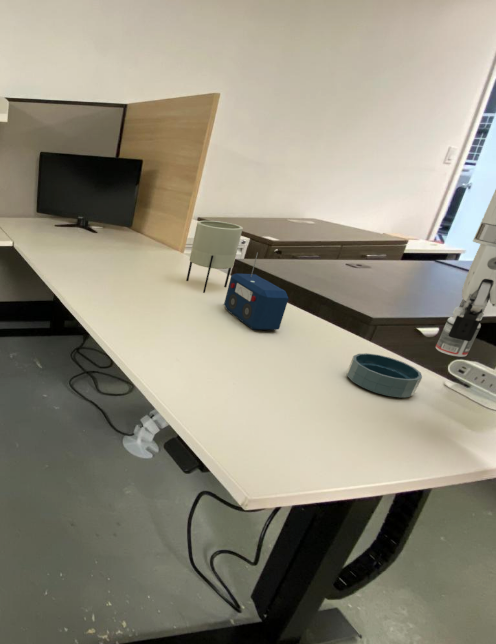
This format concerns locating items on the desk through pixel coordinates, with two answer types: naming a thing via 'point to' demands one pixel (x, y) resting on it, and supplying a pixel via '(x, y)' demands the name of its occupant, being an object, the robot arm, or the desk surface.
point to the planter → (215, 246)
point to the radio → (256, 301)
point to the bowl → (384, 375)
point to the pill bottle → (453, 344)
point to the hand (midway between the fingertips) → (459, 333)
